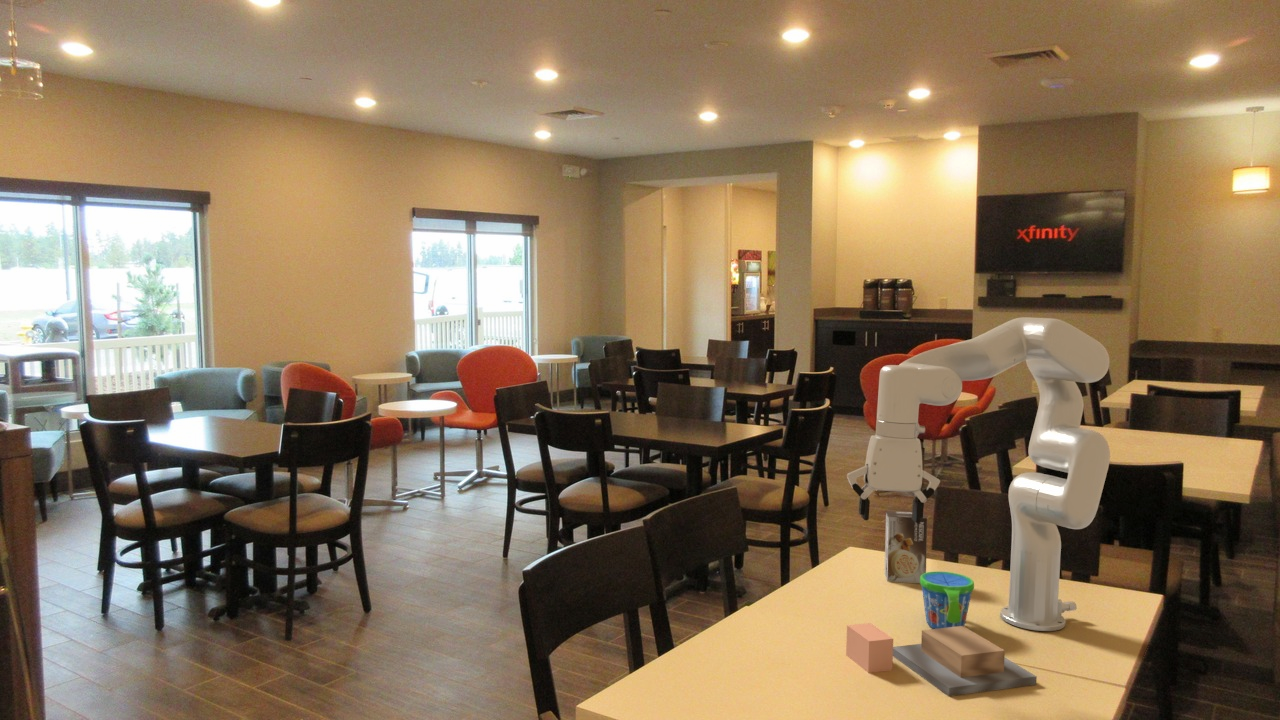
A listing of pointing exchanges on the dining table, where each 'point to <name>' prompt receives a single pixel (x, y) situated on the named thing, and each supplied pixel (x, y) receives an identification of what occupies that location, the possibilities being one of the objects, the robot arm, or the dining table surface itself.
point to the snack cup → (946, 598)
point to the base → (957, 682)
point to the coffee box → (905, 547)
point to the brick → (869, 647)
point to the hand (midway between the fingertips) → (890, 520)
